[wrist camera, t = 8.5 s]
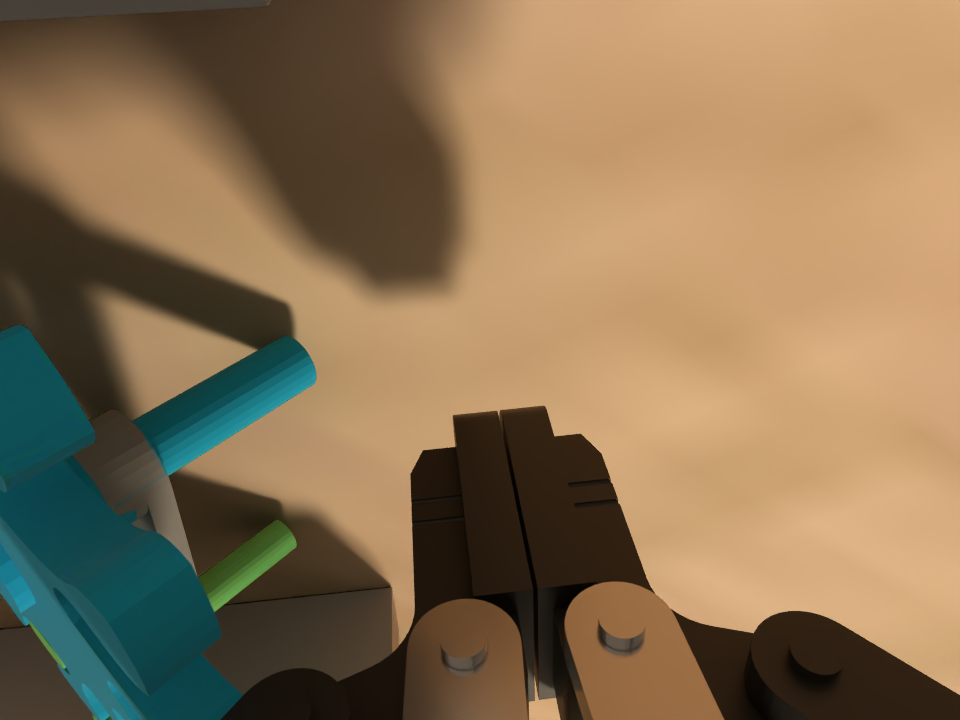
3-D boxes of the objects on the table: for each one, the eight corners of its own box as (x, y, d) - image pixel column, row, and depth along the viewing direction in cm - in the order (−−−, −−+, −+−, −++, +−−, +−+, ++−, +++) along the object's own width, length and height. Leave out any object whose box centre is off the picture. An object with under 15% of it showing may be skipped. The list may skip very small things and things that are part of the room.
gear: (-418, 72, 9) (-1, 603, 4) (77, -8, 12) (574, 233, 8) (-54, 591, 16) (237, 983, 12) (189, 443, 20) (480, 698, 15)
